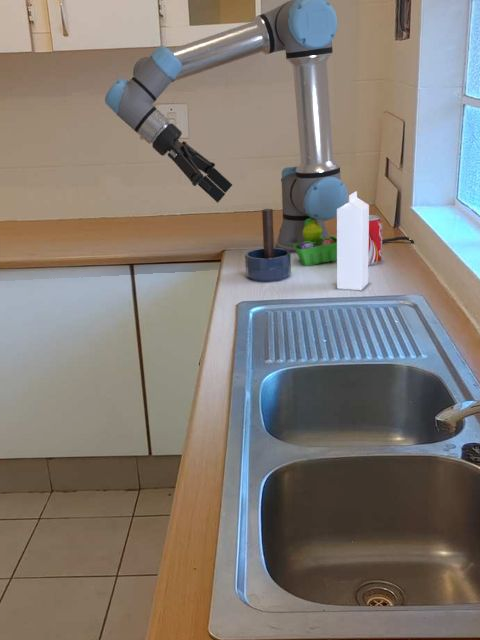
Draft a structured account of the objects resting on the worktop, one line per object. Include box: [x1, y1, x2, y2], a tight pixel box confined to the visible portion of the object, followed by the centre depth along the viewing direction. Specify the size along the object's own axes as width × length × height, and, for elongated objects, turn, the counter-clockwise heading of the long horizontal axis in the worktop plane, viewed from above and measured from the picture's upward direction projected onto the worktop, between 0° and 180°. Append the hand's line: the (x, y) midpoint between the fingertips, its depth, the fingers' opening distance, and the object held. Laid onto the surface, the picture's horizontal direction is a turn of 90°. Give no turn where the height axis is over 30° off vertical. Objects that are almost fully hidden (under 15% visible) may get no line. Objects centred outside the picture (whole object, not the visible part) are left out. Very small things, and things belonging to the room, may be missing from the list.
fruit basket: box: [293, 218, 337, 266], centre depth 201 cm, size 11×9×11 cm
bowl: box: [244, 247, 292, 282], centre depth 191 cm, size 11×12×6 cm
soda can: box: [368, 214, 383, 266], centre depth 197 cm, size 7×7×12 cm
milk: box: [336, 190, 370, 291], centre depth 176 cm, size 6×6×22 cm
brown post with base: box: [261, 208, 275, 258], centre depth 189 cm, size 5×5×16 cm
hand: (225, 193), depth 187 cm, fingers open, 13 cm apart
